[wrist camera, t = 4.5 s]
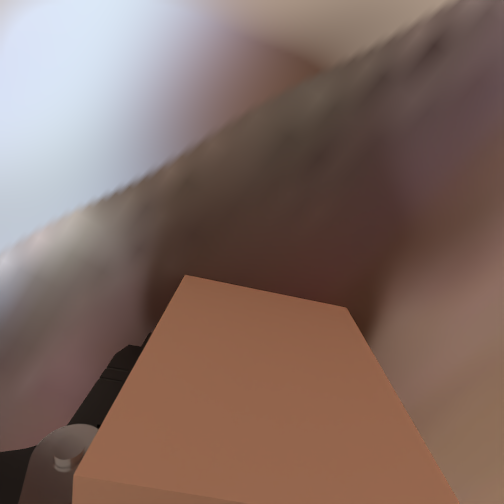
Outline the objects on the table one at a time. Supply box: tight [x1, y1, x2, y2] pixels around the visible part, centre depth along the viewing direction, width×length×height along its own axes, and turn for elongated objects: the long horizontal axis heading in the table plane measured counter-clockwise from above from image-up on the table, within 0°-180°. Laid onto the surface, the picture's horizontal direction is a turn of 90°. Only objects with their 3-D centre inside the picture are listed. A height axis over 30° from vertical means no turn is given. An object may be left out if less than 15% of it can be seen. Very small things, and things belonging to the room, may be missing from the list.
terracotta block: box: [72, 275, 460, 504], centre depth 8 cm, size 6×6×6 cm
